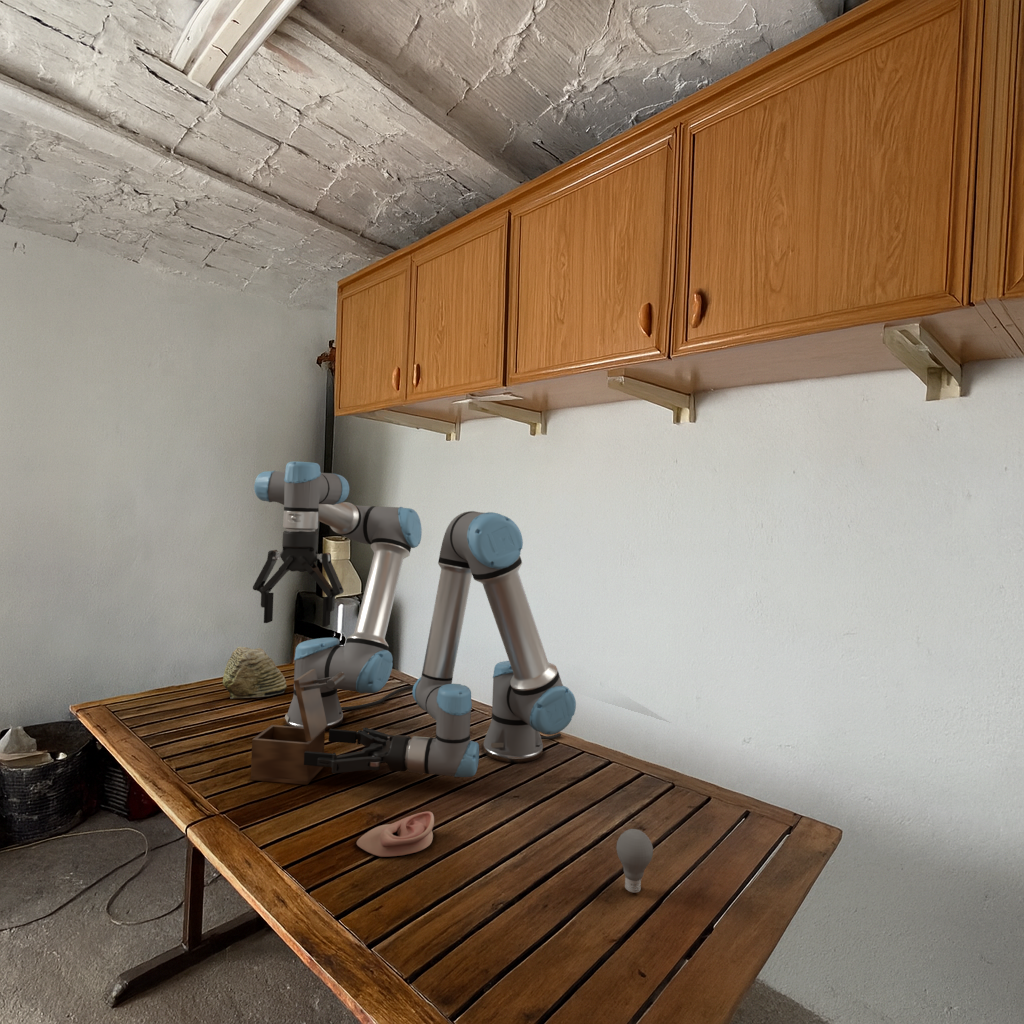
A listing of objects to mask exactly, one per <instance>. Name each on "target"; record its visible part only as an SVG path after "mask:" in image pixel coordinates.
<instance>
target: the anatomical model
mask: <svg viewBox="0 0 1024 1024" xmlns="http://www.w3.org/2000/svg"><path fill="white" fill-rule="evenodd" d="M434 826H435V815H434V814H433V812H431V811H422V812H418V813H415V814H411V815H409V816H406V817H404V818H402V819H399V820H397V821H395V822H392V823H389V824H388V823H387V824H382V825H378V826H376V827H374V828H372V829H370V830H368V831H367V832H365V833H364V834H363V835H361V836H360V837H359V838H358V839H357V841H356V845H357V847H359V848H360V849H362V850H363V851H365V852H366V853H369V854H371V855H373V856H375V857H376V856H377V857H380V858H385V857H386V858H387V857H397V856H405V855H410V854H414V853H418V852H420V851H423V850H425V849H427V848H428V847H430V845H431V844H432V842H433V838H434V834H433V829H434Z"/></svg>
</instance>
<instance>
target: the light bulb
mask: <svg viewBox="0 0 1024 1024" xmlns="http://www.w3.org/2000/svg"><path fill="white" fill-rule="evenodd" d="M615 849H616V854H617V857H618V859H619V861H620V863H621V865H622V867H623V873H624V874H623V875H624V876H625V878H624V888H625V890H627V891H628V892H630V893H634V894H635V893H639V892H640V891H641V889H642V887H641V886H642V879H643V877H644V875H645V871H646V868H647V867H648V866H649V864H650V863H651V861H652V859H653V855H654V847H653V843H652V841H651V838H649V836H648V835H647V834H646V833H645V832H643V831H642V830H641V829H636V828H629V829H627V830H625V831H623V832H622V833H621V834H620V835H619V837H618V839H617V841H616V847H615Z"/></svg>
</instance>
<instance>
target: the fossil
mask: <svg viewBox="0 0 1024 1024" xmlns="http://www.w3.org/2000/svg"><path fill="white" fill-rule="evenodd" d="M222 676H223V677H222V685H223V687H224V688H225V690H226V691H228V693H229V698H230V699H250V698H264V697H271V696H275V695H281V694H284V693H285V691H286V689H287V687H288V686H287V680H286V678H285V676H284V674H283V673H282V672H281V669H279V668H278V667H277V665H276V663H275V662H274V660H273V659H272V658H271V657H270V656H269V655H268V654H267V653H266V652H265V650H264V649H263V648H260V647H258V648H251V647H247V646H246V647H245V646H238V647H237V648H236V649H235V650H233V651H232V653H231V656H230V657H229V659H228V660H227V663H226V666H225V668H224V671H223V675H222Z"/></svg>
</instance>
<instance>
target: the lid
mask: <svg viewBox="0 0 1024 1024" xmlns="http://www.w3.org/2000/svg"><path fill="white" fill-rule="evenodd" d="M344 679H345V675H344V673H342V672H339V673H338V674H336V675H335V676H334V677H328V678H323V679H317V674H316V669H311V670H310V671H308V672H306V673H305V674H303V675H302V676H300V677H299V678H297V679H296V680H294V679H293V686H294V685H295V689H296V694H297V699H298V704H299V708H300V713H301V718H302V723H303V727H304V732H305V737H306V741H312V740H313V739H314V738H315V737H316V736H317V735H318V734H319V733H320V732H321V731H322V730H323V729H325V728H326V727H327V722H326V717H325V712H324V707H323V703H322V698H321V693H320V688H322V687H328V688H329V689H332V688H334V687H335V686H336V685H338V684H339V683H340V682H341V681H343V680H344ZM326 681H327V683H323V684H318V683H321V682H326Z"/></svg>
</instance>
